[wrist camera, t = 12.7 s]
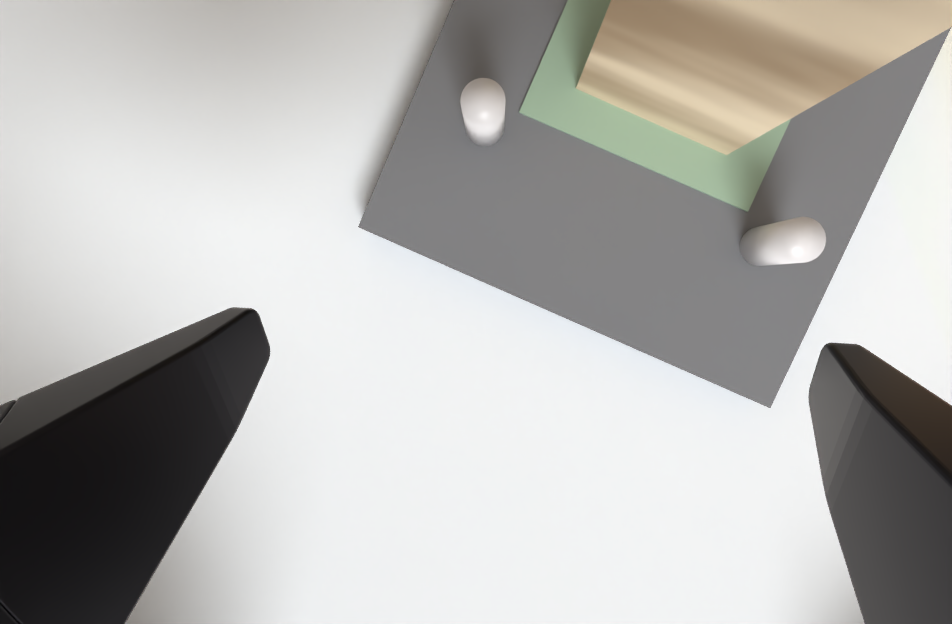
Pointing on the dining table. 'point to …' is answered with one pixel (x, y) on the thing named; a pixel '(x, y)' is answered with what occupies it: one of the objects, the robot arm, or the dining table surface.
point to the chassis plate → (632, 194)
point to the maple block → (746, 58)
